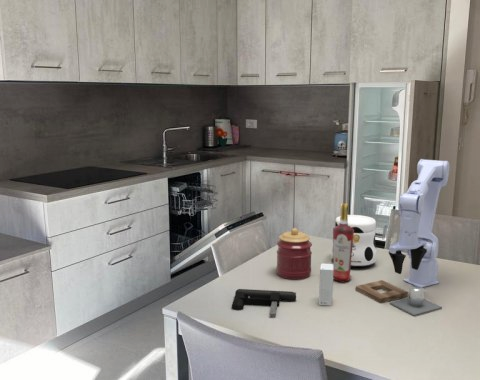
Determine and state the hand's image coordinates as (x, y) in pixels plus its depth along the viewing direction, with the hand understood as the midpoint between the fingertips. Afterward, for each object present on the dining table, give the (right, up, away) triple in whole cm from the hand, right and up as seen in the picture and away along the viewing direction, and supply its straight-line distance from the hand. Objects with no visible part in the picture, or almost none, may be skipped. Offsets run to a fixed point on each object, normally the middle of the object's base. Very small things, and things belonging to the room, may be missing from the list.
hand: (406, 270), depth 157 cm
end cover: (+1, -10, -5) cm, 11 cm away
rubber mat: (+1, -10, -5) cm, 12 cm away
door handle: (-47, -11, -4) cm, 48 cm away
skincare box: (-27, -10, -1) cm, 28 cm away
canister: (-34, -5, +24) cm, 42 cm away
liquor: (-18, -6, +18) cm, 26 cm away
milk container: (-9, -3, +35) cm, 37 cm away
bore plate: (-7, -8, +5) cm, 12 cm away
